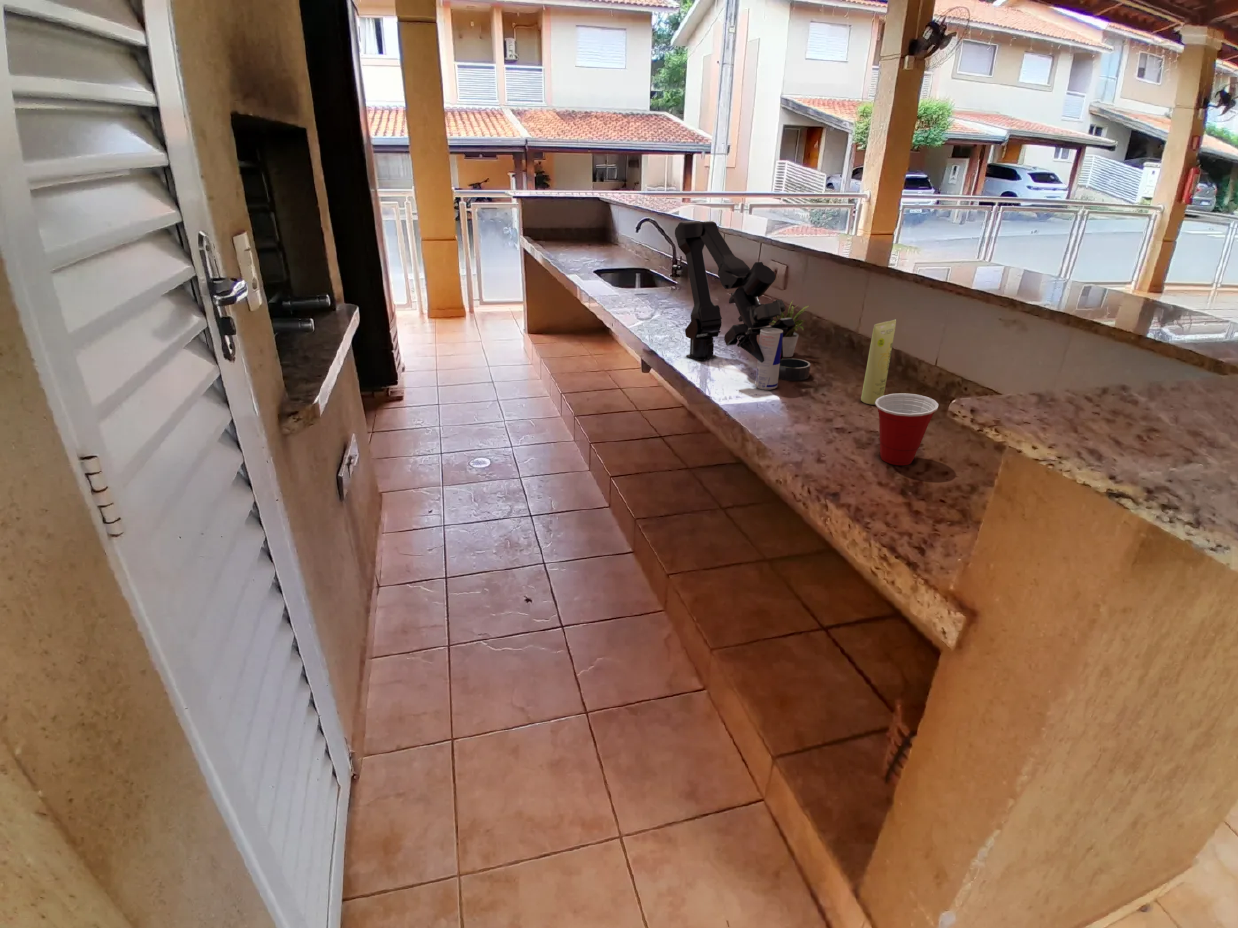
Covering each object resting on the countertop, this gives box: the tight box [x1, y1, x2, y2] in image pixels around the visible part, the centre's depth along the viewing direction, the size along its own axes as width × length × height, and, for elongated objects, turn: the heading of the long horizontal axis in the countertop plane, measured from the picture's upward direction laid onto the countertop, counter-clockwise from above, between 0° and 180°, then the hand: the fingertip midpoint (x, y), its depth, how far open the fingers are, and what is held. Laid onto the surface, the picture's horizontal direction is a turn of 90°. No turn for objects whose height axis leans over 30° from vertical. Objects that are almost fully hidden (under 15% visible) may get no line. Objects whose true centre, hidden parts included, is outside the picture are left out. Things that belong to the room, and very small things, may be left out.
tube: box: [860, 318, 897, 406], centre depth 144 cm, size 6×5×20 cm
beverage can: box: [754, 328, 783, 391], centre depth 156 cm, size 6×6×15 cm
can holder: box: [778, 357, 812, 382], centre depth 167 cm, size 9×9×4 cm
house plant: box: [769, 300, 810, 358], centre depth 183 cm, size 14×14×16 cm
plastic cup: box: [875, 392, 940, 466], centre depth 117 cm, size 11×11×12 cm
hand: (772, 360), depth 155 cm, fingers closed on beverage can, 5 cm apart
